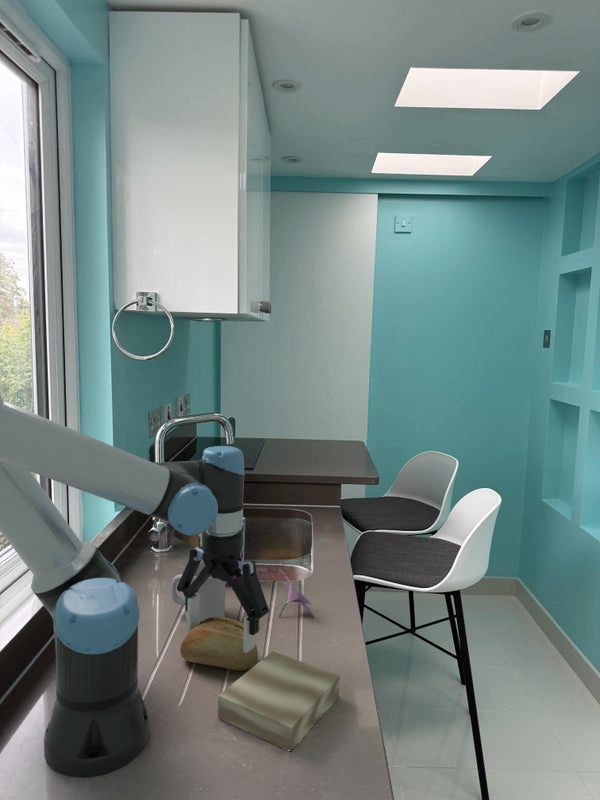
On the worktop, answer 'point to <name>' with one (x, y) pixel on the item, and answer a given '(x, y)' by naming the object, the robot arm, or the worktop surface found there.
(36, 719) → the worktop surface
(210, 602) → the mug
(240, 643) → the bread roll
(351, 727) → the worktop surface
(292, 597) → the lily
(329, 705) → the wooden base
